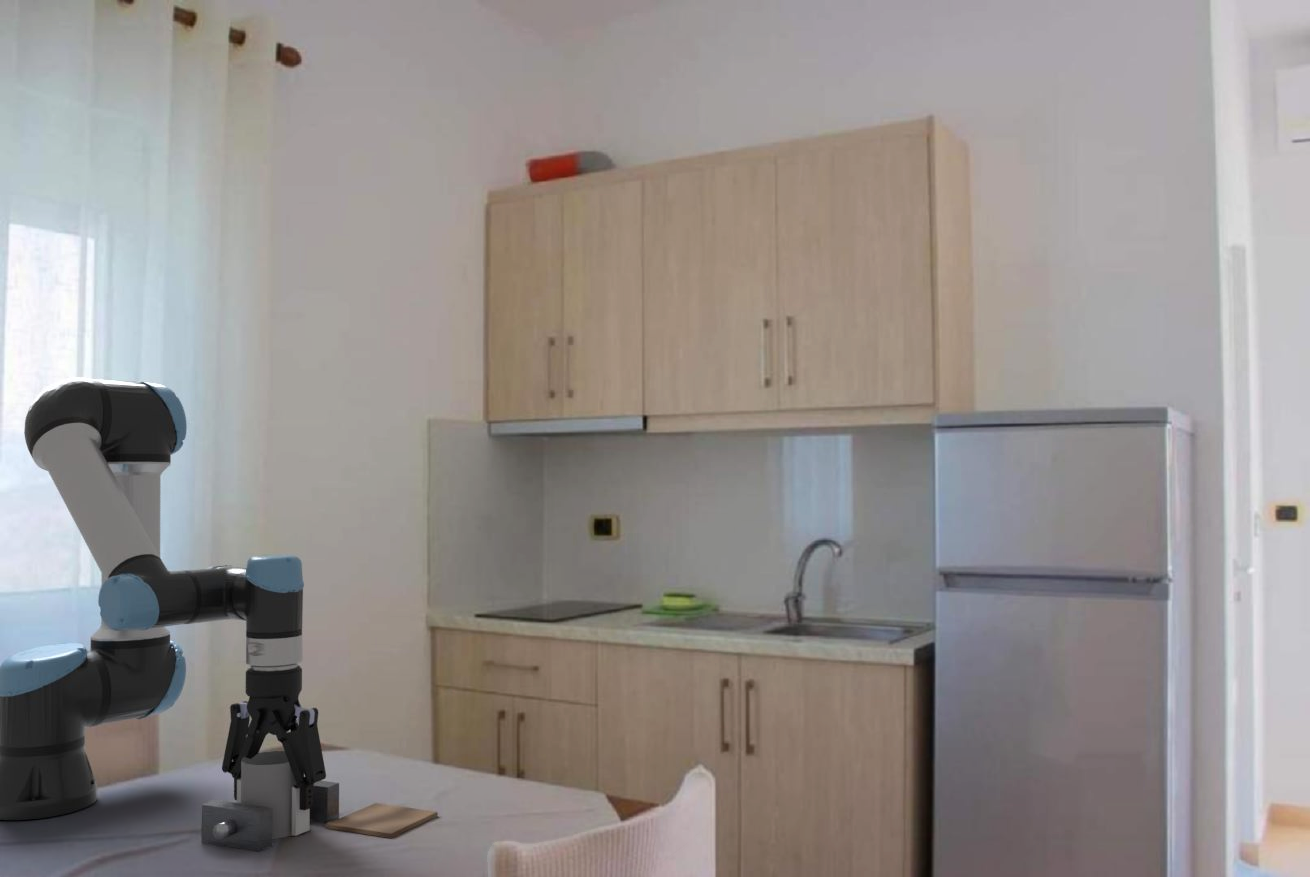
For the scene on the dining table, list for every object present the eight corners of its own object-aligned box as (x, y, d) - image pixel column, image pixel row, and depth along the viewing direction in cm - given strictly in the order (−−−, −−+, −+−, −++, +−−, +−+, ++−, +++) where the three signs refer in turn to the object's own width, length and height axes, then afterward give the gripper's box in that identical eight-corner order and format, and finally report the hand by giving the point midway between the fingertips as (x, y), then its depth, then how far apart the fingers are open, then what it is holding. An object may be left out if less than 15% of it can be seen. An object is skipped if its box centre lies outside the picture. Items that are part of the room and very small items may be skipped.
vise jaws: (189, 846, 150) (190, 808, 150) (294, 806, 168) (294, 772, 169) (247, 856, 146) (247, 817, 146) (347, 814, 164) (348, 779, 165)
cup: (283, 841, 152) (284, 766, 153) (228, 837, 154) (229, 763, 154) (314, 822, 161) (315, 751, 161) (262, 819, 162) (262, 749, 163)
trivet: (326, 828, 158) (326, 824, 158) (375, 807, 168) (375, 803, 168) (390, 838, 153) (390, 833, 153) (437, 815, 164) (437, 811, 164)
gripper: (194, 665, 159) (193, 826, 158) (318, 675, 150) (316, 846, 149) (234, 657, 166) (232, 812, 165) (354, 667, 157) (353, 830, 156)
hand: (272, 828), depth 157 cm, fingers open, 9 cm apart
